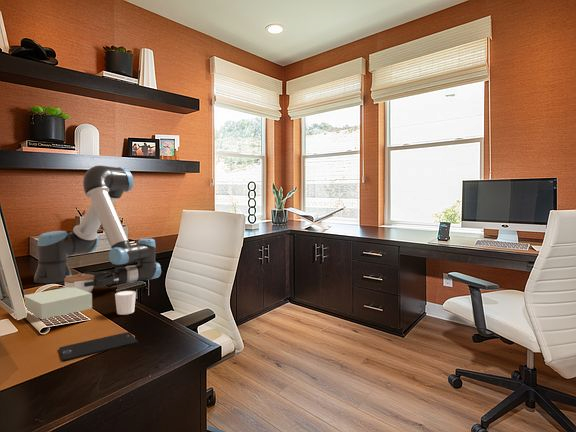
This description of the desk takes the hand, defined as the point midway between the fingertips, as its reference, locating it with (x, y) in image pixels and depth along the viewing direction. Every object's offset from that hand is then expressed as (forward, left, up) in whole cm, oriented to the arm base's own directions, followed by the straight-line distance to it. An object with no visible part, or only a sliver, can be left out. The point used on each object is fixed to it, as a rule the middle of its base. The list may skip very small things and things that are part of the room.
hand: (70, 282), depth 137 cm
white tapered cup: (+33, +10, -6) cm, 35 cm away
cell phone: (+57, -5, -7) cm, 57 cm away
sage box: (+14, -7, -6) cm, 17 cm away
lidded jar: (0, +3, -6) cm, 7 cm away
